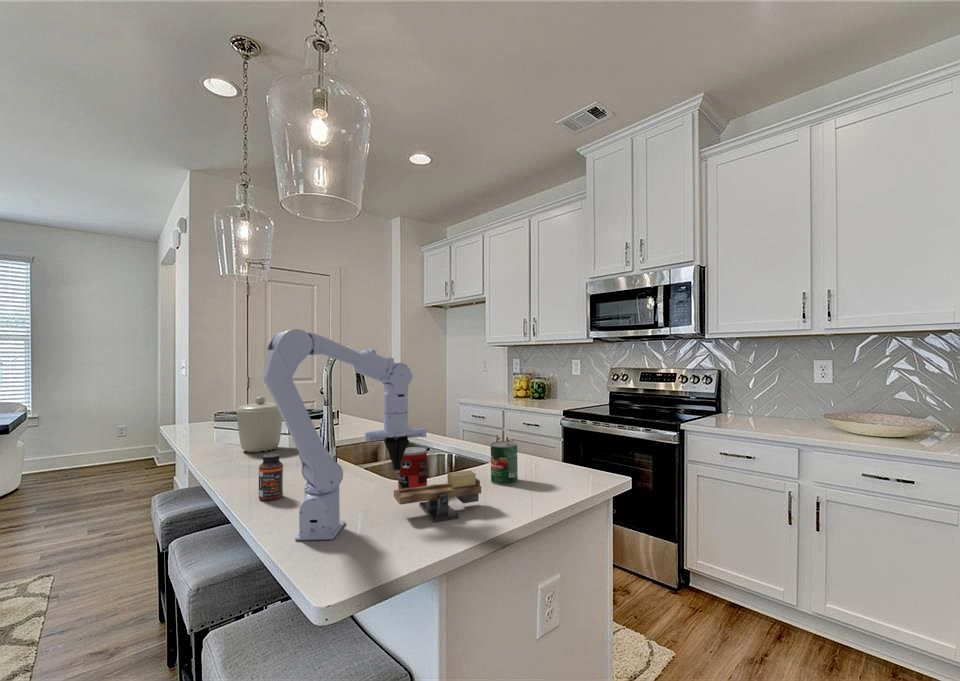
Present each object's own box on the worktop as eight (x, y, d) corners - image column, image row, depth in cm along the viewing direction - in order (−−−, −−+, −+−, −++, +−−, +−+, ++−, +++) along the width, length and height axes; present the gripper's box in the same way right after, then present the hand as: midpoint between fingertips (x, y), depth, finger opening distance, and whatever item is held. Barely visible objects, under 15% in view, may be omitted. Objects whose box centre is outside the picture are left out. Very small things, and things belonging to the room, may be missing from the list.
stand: (433, 522, 103) (433, 499, 104) (419, 505, 115) (419, 484, 115) (458, 518, 106) (458, 495, 106) (442, 502, 117) (441, 481, 117)
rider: (452, 491, 110) (452, 476, 110) (447, 487, 113) (447, 472, 113) (475, 488, 112) (475, 473, 112) (470, 484, 116) (470, 470, 116)
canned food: (395, 487, 130) (395, 448, 130) (423, 484, 133) (423, 445, 133) (401, 495, 123) (400, 454, 123) (430, 491, 126) (429, 451, 126)
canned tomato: (487, 484, 132) (486, 445, 132) (495, 476, 140) (494, 440, 140) (514, 486, 130) (513, 447, 130) (520, 478, 137) (520, 441, 137)
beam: (399, 513, 104) (399, 492, 104) (393, 505, 109) (393, 484, 109) (481, 501, 111) (481, 481, 111) (472, 494, 117) (471, 475, 117)
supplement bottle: (260, 503, 118) (260, 458, 118) (256, 496, 123) (256, 454, 123) (285, 498, 122) (284, 455, 122) (280, 492, 127) (280, 451, 127)
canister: (277, 443, 195) (277, 393, 195) (291, 450, 181) (291, 396, 181) (230, 449, 183) (229, 396, 183) (240, 457, 169) (240, 400, 169)
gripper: (367, 416, 104) (367, 476, 104) (429, 412, 110) (429, 469, 109) (363, 412, 111) (363, 469, 111) (422, 409, 116) (422, 463, 116)
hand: (396, 469), depth 110 cm, fingers closed
